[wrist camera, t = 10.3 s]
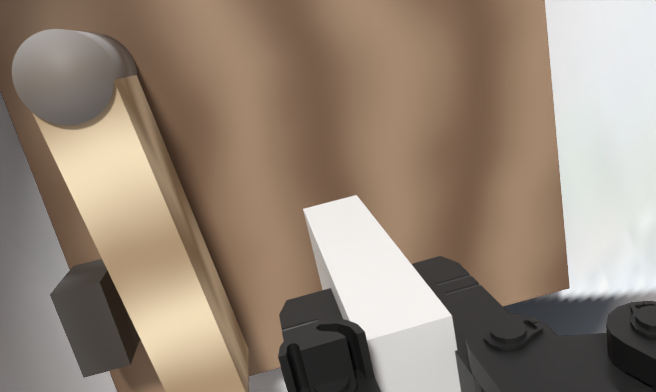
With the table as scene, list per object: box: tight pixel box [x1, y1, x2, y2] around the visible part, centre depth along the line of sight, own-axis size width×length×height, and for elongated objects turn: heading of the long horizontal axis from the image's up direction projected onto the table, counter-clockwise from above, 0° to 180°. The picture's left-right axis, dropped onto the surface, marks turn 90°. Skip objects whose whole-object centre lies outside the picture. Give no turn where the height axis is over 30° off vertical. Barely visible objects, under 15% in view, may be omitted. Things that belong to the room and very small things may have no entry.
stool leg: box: [12, 29, 249, 392], centre depth 22 cm, size 16×3×4 cm, turn 17°
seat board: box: [0, 0, 569, 392], centre depth 24 cm, size 24×20×5 cm
